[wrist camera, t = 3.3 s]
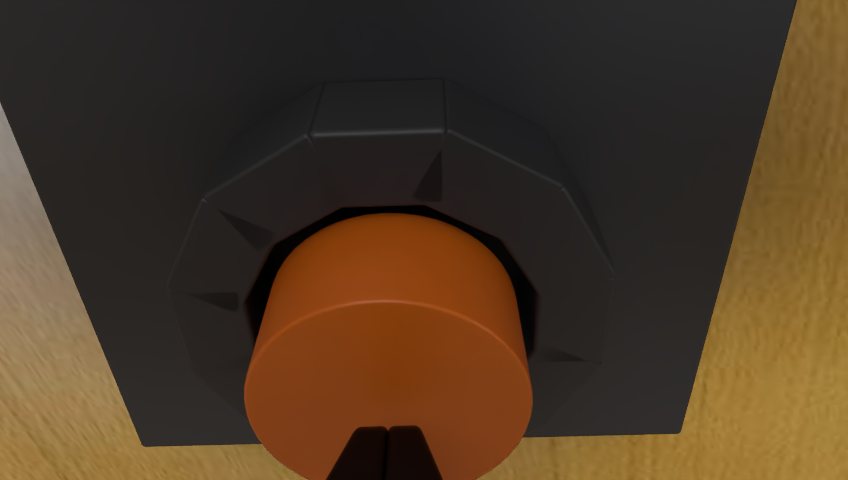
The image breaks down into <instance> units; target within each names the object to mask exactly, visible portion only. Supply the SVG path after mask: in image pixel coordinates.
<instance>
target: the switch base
mask: <svg viewBox="0 0 848 480" xmlns="http://www.w3.org/2000/svg"><path fill="white" fill-rule="evenodd" d="M796 2H797V0H0V103H1V105H2V108H3V110H4V112H5V115H6V117H7V120H8V122H9V124H10V127H11V129H12V132H13V134H14V137H15V139H16V141H17V144H18V146H19V149H20V151H21V153H22V156H23V158H24V161H25V163H26V166H27V168H28V170H29V173H30V175H31V178H32V180H33V182H34V185H35V187H36V190H37V192H38V195H39V197H40V199H41V202H42V204H43V207H44V209H45V212H46V214H47V216H48V219H49V221H50V224H51V226H52V228H53V231H54V233H55V236H56V238H57V241H58V243H59V245H60V248H61V250H62V253H63V255H64V257H65V260H66V262H67V265H68V267H69V270H70V272H71V274H72V277H73V279H74V282H75V284H76V286H77V289H78V291H79V294H80V296H81V299H82V301H83V303H84V306H85V308H86V311H87V313H88V315H89V318H90V320H91V323H92V325H93V328H94V330H95V332H96V335H97V337H98V340H99V342H100V344H101V347H102V349H103V352H104V354H105V357H106V359H107V361H108V364H109V366H110V369H111V371H112V374H113V376H114V378H115V381H116V383H117V386H118V388H119V390H120V393H121V395H122V398H123V400H124V403H125V405H126V407H127V410H128V412H129V415H130V417H131V419H132V422H133V424H134V427H135V429H136V432H137V434H138V436H139V439H140V441H141V444H142V445H143V446H145V447H153V446H193V445H234V444H262V443H261V442H260V441H259V439H258V438H257V436H256V434H255V433H254V431H253V429H252V427H251V425H250V422H249V419H248V417H247V414H246V408H245V403H244V385H245V381H246V376H247V372H248V368H249V365H250V361H251V358H252V354H253V351H254V347H255V344H256V340H257V337H258V333H259V330H260V326H261V323H262V319H263V316H264V312H265V309H266V305H267V302H268V299H269V295H270V292H271V288H272V285H273V282H274V279H275V277H276V274H277V272H278V270H279V269H280V267H281V265H282V264H283V262H284V261H285V259H286V258H287V257H288V256H289V255H290V253H291V252H292V251H293V250H294V249H295V248H296V247H297V246H298V245H299V244H301V243H302V242H303V241H304V240H305V239H307V238H308V237H310V236H311V235H313V234H314V233H316V232H318V231H319V230H321V229H323V228H325V227H327V226H329V225H331V224H334V223H336V222H339V221H342V220H345V219H348V218H351V217H356V216H361V215H366V214H375V213H407V214H414V215H421V216H425V217H429V218H433V219H437V220H440V221H443V222H445V223H448V224H451V225H453V226H455V227H457V228H459V229H461V230H463V231H465V232H467V233H468V234H470V235H471V236H473V237H474V238H476V239H477V240H479V241H480V242H481V243H482V244H484V245H485V246H486V247H487V248H488V249H489V250H490V251H491V252H492V253H493V254H494V255H495V256H496V257H497V259H498V260H499V261H500V262H501V263H502V265H503V266H504V268H505V270H506V271H507V273H508V275H509V277H510V279H511V282H512V284H513V287H514V290H515V295H516V300H517V305H518V311H519V317H520V322H521V328H522V334H523V340H524V345H525V351H526V357H527V363H528V368H529V374H530V380H531V385H532V391H533V407H532V413H531V418H530V421H529V424H528V426H527V429H526V432H525V434H524V435H523V437H561V436H602V435H643V434H678V433H680V432H681V429H682V425H683V421H684V418H685V414H686V410H687V406H688V403H689V399H690V395H691V392H692V388H693V384H694V381H695V377H696V373H697V369H698V366H699V362H700V358H701V355H702V351H703V347H704V343H705V340H706V336H707V332H708V329H709V325H710V321H711V317H712V314H713V310H714V306H715V303H716V299H717V295H718V291H719V288H720V284H721V280H722V277H723V273H724V269H725V265H726V262H727V258H728V254H729V251H730V247H731V243H732V239H733V236H734V232H735V228H736V225H737V221H738V217H739V213H740V210H741V206H742V202H743V199H744V195H745V191H746V187H747V184H748V180H749V176H750V173H751V169H752V165H753V161H754V158H755V154H756V150H757V147H758V143H759V139H760V135H761V132H762V128H763V124H764V121H765V117H766V113H767V109H768V106H769V102H770V98H771V95H772V91H773V87H774V83H775V80H776V76H777V72H778V69H779V65H780V61H781V57H782V54H783V50H784V46H785V43H786V39H787V35H788V31H789V28H790V24H791V20H792V17H793V13H794V9H795V5H796Z"/></svg>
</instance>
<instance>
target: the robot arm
mask: <svg viewBox="0 0 848 480" xmlns="http://www.w3.org/2000/svg"><path fill="white" fill-rule="evenodd" d="M326 480H443V478H442V476H441V474H440V471H439V469H438V467H437V464H436V462H435V460H434V457H433V455H432V453H431V451H430V448H429V446H428V444H427V441H426V439H425V437H424V434H423V432H422V430H421V429H420V427H418V426H416V425H407V426H392V427H391V428H390V429H389V431H388V430H387V428H386V427H383V426H366V427H358V428H357V429H356V430H355V431H354V432H353V434H352V435H351V437H350V439H349V440H348V442H347V444H346V446H345V447H344V449H343V451H342V453H341V454H340V456H339V458H338V459H337V461H336V463H335V465H334V466H333V468H332V470H331V471H330V473H329V475H328V477H327V478H326Z"/></svg>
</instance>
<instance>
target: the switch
mask: <svg viewBox="0 0 848 480" xmlns="http://www.w3.org/2000/svg"><path fill="white" fill-rule="evenodd" d="M244 403H245V408H246V414H247V417H248V419H249V422H250V425H251V427H252V429H253V431H254V433H255V434H256V436H257V438H258V439H259V441H260V442H261V443H262V444H263V446H264V447H265V448H266V450H267V451H269V452H270V453H271V454H272V455H273V456H274V457H275V458H276V459H277V460H278V461H279V462H281V463H282V464H283V465H285V466H286V467H287V468H289V469H290V470H292V471H294V472H295V473H297V474H299V475H300V476H302V477H304V478H306V479H308V480H326V478H327V477H328V475H329V473H330V471H331V470H332V468H333V466H334V465H335V463H336V461H337V459H338V458H339V456H340V454H341V453H342V451H343V449H344V447H345V446H346V444H347V442H348V440H349V439H350V437H351V435H352V434H353V432H354V431H355V430H356V429H357V428H358V427H366V426H383V427H386V428H387V430H388V431H389V429H390V428H391V427H392V426H407V425H416V426H418V427H420V429H421V430H422V432H423V434H424V437H425V439H426V441H427V444H428V446H429V448H430V451H431V453H432V455H433V457H434V460H435V462H436V464H437V467H438V469H439V471H440V474H441V476H442V478H443V480H475V479H477V478H479V477H480V476H482V475H484V474H486V473H487V472H489V471H490V470H492V469H493V468H495V467H496V466H497V465H499V464H500V463H501V462H502V461H503V460H504V459H505V458H506V457H508V456H509V455H510V454H511V452H512V451H513V450H514V449H515V447H516V446H517V445H518V444H519V442H520V440H521V439H522V437H523V435H524V434H525V432H526V429H527V426H528V424H529V421H530V418H531V413H532V407H533V391H532V385H531V380H530V374H529V368H528V363H527V357H526V351H525V345H524V340H523V334H522V328H521V322H520V317H519V311H518V305H517V300H516V295H515V290H514V287H513V284H512V282H511V279H510V277H509V275H508V273H507V271H506V270H505V268H504V266H503V265H502V263H501V262H500V261H499V260H498V259H497V257H496V256H495V255H494V254H493V253H492V252H491V251H490V250H489V249H488V248H487V247H486V246H485V245H484V244H482V243H481V242H480V241H479V240H477V239H476V238H474V237H473V236H471V235H470V234H468V233H467V232H465V231H463V230H461V229H459V228H457V227H455V226H453V225H451V224H448V223H445V222H443V221H440V220H437V219H433V218H429V217H425V216H421V215H414V214H407V213H375V214H366V215H361V216H356V217H351V218H348V219H345V220H342V221H339V222H336V223H334V224H331V225H329V226H327V227H325V228H323V229H321V230H319V231H318V232H316V233H314V234H313V235H311V236H310V237H308V238H307V239H305V240H304V241H303V242H302V243H301V244H299V245H298V246H297V247H296V248H295V249H294V250H293V251H292V252H291V253H290V255H289V256H288V257H287V258H286V259H285V261H284V262H283V264H282V265H281V267H280V269H279V270H278V272H277V274H276V277H275V279H274V282H273V285H272V288H271V292H270V295H269V299H268V302H267V305H266V309H265V312H264V316H263V319H262V323H261V326H260V330H259V333H258V337H257V340H256V344H255V347H254V351H253V354H252V358H251V361H250V365H249V368H248V372H247V376H246V381H245V385H244Z"/></svg>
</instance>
